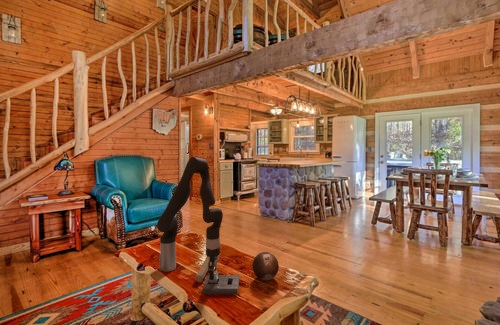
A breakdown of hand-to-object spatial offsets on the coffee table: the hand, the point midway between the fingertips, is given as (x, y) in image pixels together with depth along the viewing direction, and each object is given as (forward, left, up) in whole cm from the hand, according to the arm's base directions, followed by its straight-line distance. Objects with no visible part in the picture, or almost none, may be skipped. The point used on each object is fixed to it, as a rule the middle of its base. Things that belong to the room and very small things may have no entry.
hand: (212, 275), depth 135 cm
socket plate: (+5, 0, -6) cm, 8 cm away
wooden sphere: (+29, +9, -7) cm, 31 cm away
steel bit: (0, 0, -6) cm, 6 cm away
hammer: (-6, +18, -7) cm, 21 cm away
